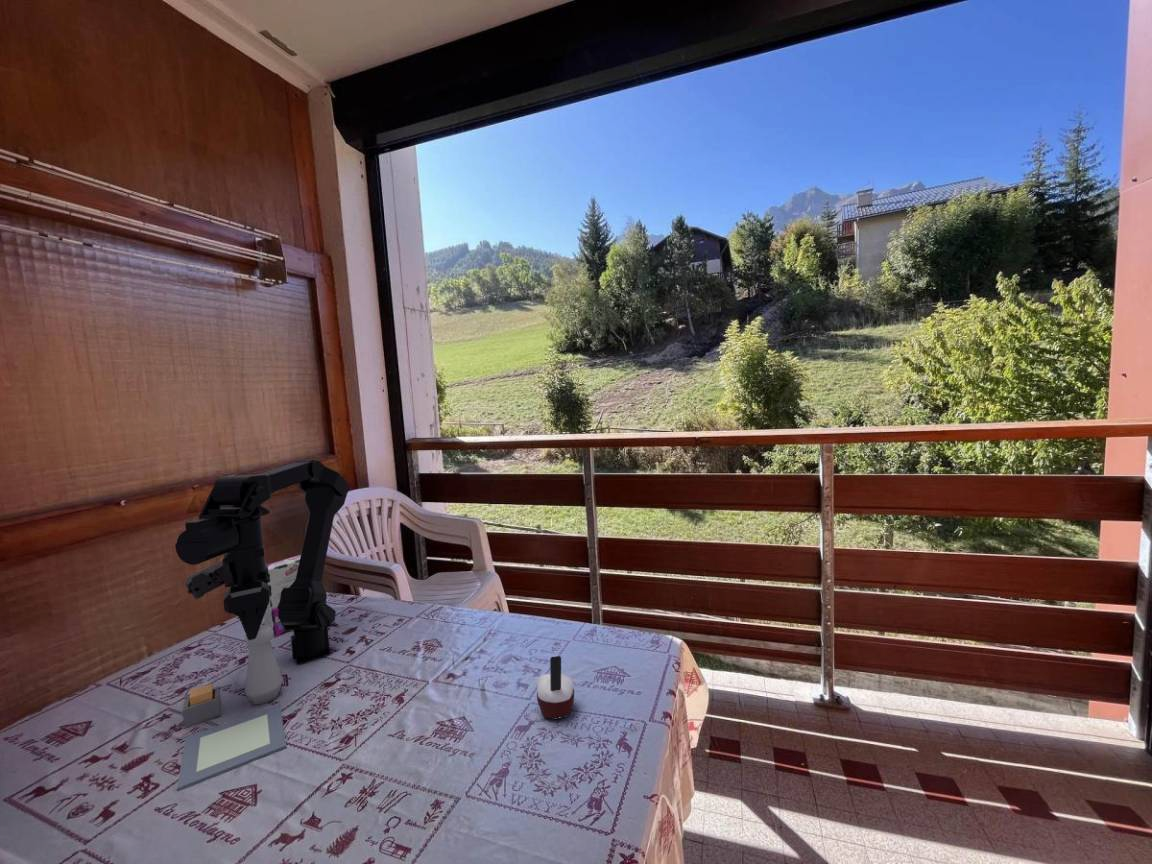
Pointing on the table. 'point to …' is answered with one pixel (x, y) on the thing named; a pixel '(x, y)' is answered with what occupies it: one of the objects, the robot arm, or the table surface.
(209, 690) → the push button
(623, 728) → the table surface
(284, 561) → the candy bar box
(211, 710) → the button housing
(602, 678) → the table surface
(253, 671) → the salt shaker
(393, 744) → the table surface
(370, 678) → the table surface
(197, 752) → the grey flat square slab
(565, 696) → the cocoa
